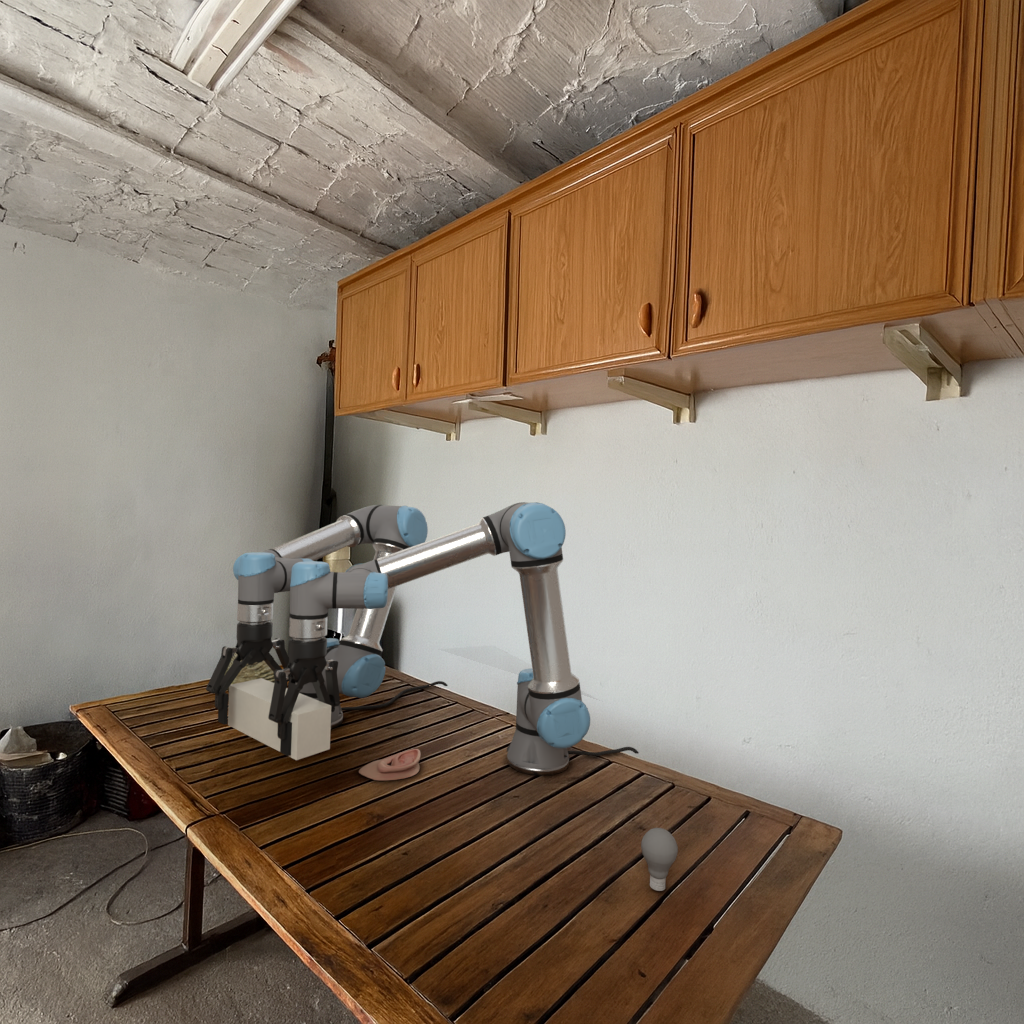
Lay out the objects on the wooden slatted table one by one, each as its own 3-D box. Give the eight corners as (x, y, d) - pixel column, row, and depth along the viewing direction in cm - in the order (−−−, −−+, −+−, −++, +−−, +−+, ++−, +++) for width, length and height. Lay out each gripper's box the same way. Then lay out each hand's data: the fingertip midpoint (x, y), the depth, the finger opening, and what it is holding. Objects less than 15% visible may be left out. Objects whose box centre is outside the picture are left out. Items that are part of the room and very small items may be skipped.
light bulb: (635, 878, 109) (637, 820, 109) (668, 878, 110) (671, 820, 109) (645, 900, 103) (648, 839, 103) (680, 900, 104) (683, 839, 103)
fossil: (218, 695, 195) (220, 647, 195) (278, 685, 208) (279, 640, 207) (228, 703, 189) (230, 653, 188) (289, 692, 201) (290, 645, 201)
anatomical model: (353, 759, 143) (374, 741, 154) (352, 777, 143) (373, 757, 154) (408, 767, 140) (426, 748, 152) (408, 785, 140) (425, 764, 152)
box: (227, 725, 142) (229, 684, 142) (260, 716, 148) (261, 678, 148) (296, 760, 125) (297, 714, 125) (329, 749, 131) (331, 705, 131)
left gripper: (208, 631, 131) (204, 734, 131) (312, 617, 150) (309, 706, 150) (191, 625, 135) (187, 724, 136) (294, 612, 155) (291, 699, 155)
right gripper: (271, 648, 119) (267, 768, 120) (360, 633, 135) (356, 739, 136) (250, 641, 124) (247, 757, 124) (339, 627, 140) (335, 729, 141)
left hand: (251, 715), depth 143 cm, fingers open, 13 cm apart
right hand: (304, 747), depth 130 cm, fingers closed on box, 8 cm apart
